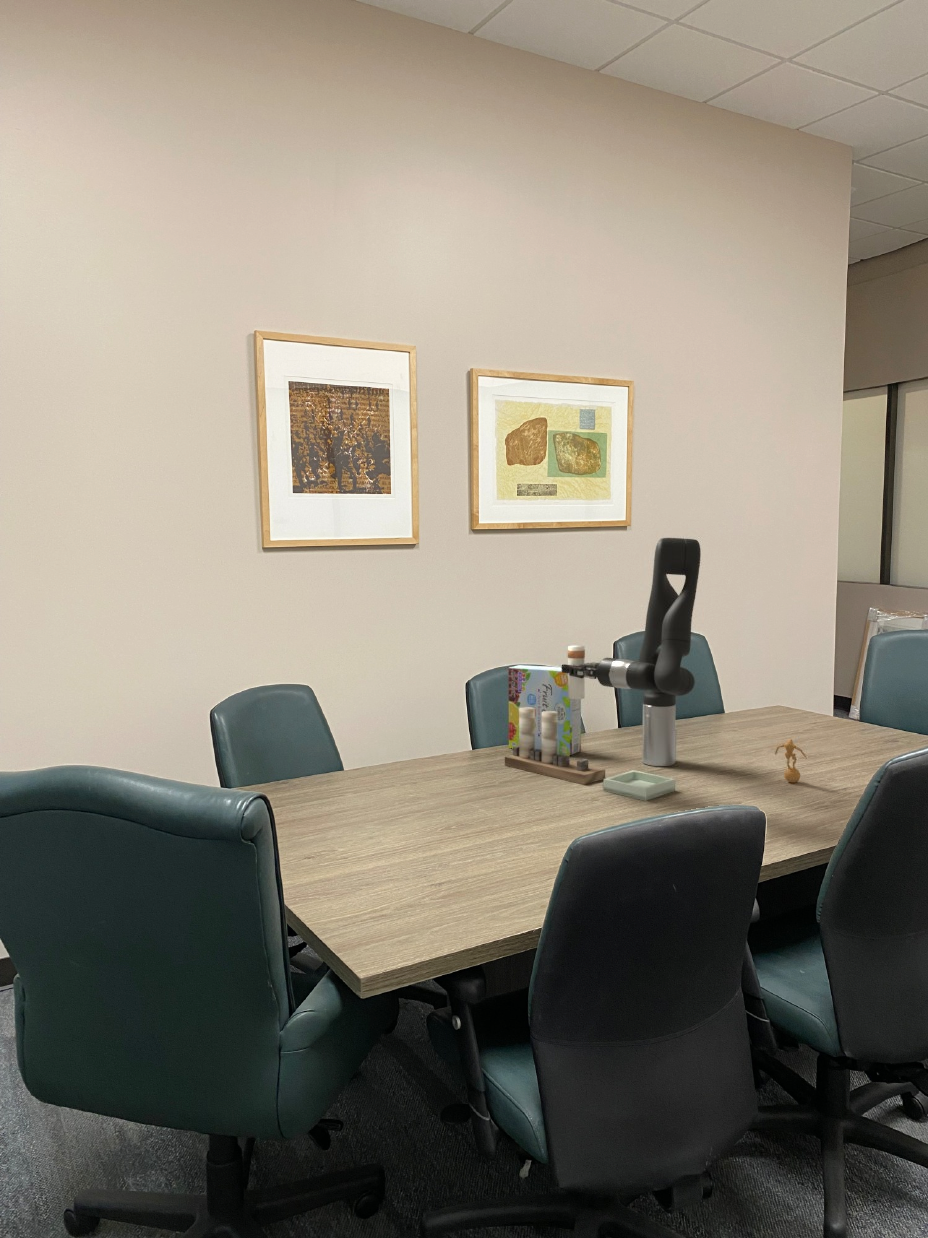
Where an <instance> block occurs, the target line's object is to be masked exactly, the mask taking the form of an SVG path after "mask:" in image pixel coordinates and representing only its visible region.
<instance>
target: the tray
mask: <svg viewBox="0 0 928 1238" xmlns="http://www.w3.org/2000/svg"><path fill="white" fill-rule="evenodd" d="M602 789H603V791H604V792H608V793H610V794H611V793H612V794H616V795H620V796H623V797H627V798H632V799H636V800H641V801H645V802H647V801H650V800H653V799H656V798H658V797H661V796H664V795H667V794H670V793H673V792H676V778H671V777H667V776H662V775H657V774H654V773H649V772H643V771H639V770H635V769H634V770H633V769H632V770H629V771H626V772H623V773H619V774H615V775H613V776H609V777H607V778H606V777H605V779H603V788H602Z"/></svg>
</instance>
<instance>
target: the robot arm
mask: <svg viewBox="0 0 928 1238" xmlns="http://www.w3.org/2000/svg"><path fill="white" fill-rule="evenodd" d="M701 551H702V550H701V545H700V542H699V541H698V540H697V539H694V538H684V537H683V538H681V537H662V538H660V539H659V540H658V541H657V543H656V545H655V551H654V558H653V572H652V583H651V589H650V595H649V599H648V600H649V601H648V603H647V604H648V605H647V611H646V615H645V616H646V617H645V629H644V634H643V639H642V643H641V647H640V651H639V655H638V660H637V661H634V660H631V659H625V658H624V659H623V658H615V657H604V658H602V659H601V660H600V661H599V662H594V661H593V662H585V663H584V664H580V665H579V666H578V665H568V664H562V665H561V668H562V673H569V676H574V677H578V678H584V679H585V678H586V679H590V680H597V681H598V682H599V684H600V685H601V686H604V687H607V688H608V687H609V688H617V689H622V690H623V689H624V690H630V689H631V690H640V691H646V692H645V693H644V694H643V696H642V747H641V748H642V752H641V754H642V757H641V758H642V759H641V760H642V761H641V762H642V763H643V764H645V765H648V766H653V767H669V766H674V765H675V763H676V762H677V734H678V733H677V729H676V711H677V710H676V708H677V707H676V701H677V698H676V697H681V696H685V695H688V694H689V693H691V692H692V690H693V689H694V687H695V684H696V683H695V682H696V681H695V677H694V675H693V673H692V672H691V670H688V669H687V668H685V667H682V666H681V664H682V659H683V657H687V656H688V655H689V654H690V651H691V645H692V644H691V643H692V639H691V638H692V621H693V620H692V619H693V612H694V606H695V602H696V601H695V600H696V594H697V587H698V583H699V582H698V581H699V574H700V565H701ZM668 575H674V576H685V579H684V584H683V586H682V589H681V591H680V593H679V594H678V593H677V591H676V590H675V588H674V586H672V585H671V584H672V583H670V581H669V578H668ZM660 646H661V647H660ZM659 647H660V648H659Z"/></svg>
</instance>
